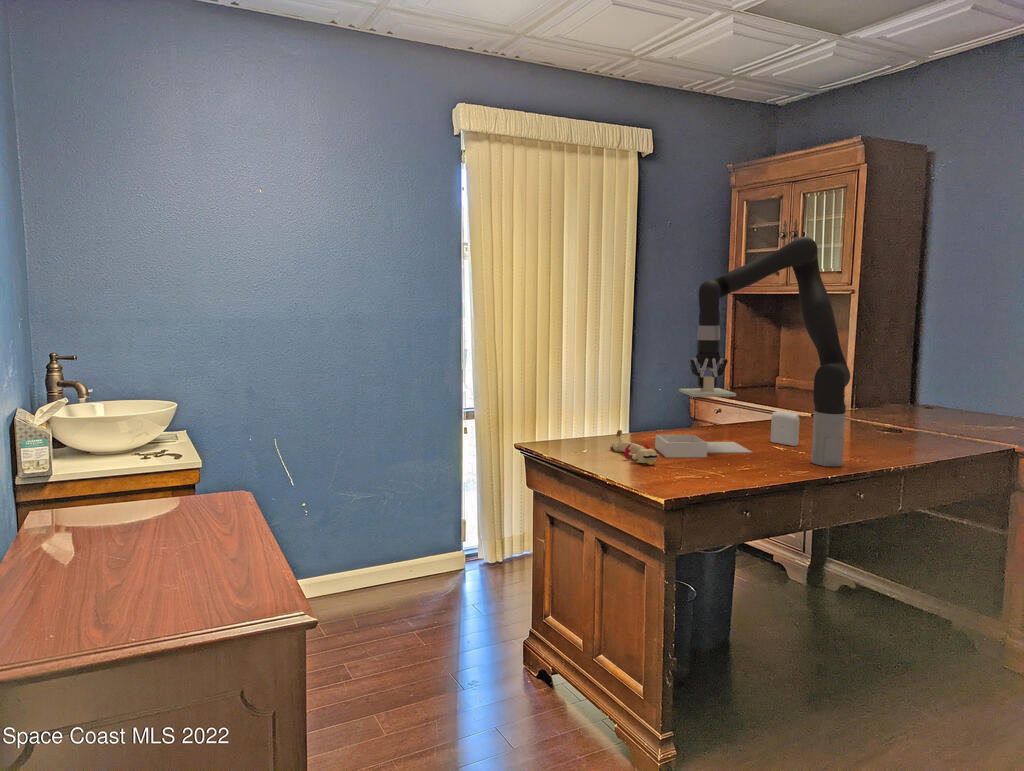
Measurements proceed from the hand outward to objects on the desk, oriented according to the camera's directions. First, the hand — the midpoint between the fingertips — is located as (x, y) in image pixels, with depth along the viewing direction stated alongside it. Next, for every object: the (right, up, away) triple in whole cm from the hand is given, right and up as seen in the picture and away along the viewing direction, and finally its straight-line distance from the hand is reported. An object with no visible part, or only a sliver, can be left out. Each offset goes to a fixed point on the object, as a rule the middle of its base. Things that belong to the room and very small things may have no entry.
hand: (707, 387), depth 247 cm
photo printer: (+33, -21, +16) cm, 43 cm away
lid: (0, -2, 0) cm, 2 cm away
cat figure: (-27, -24, -10) cm, 38 cm away
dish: (-10, -23, -2) cm, 25 cm away
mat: (+7, -22, +7) cm, 24 cm away
